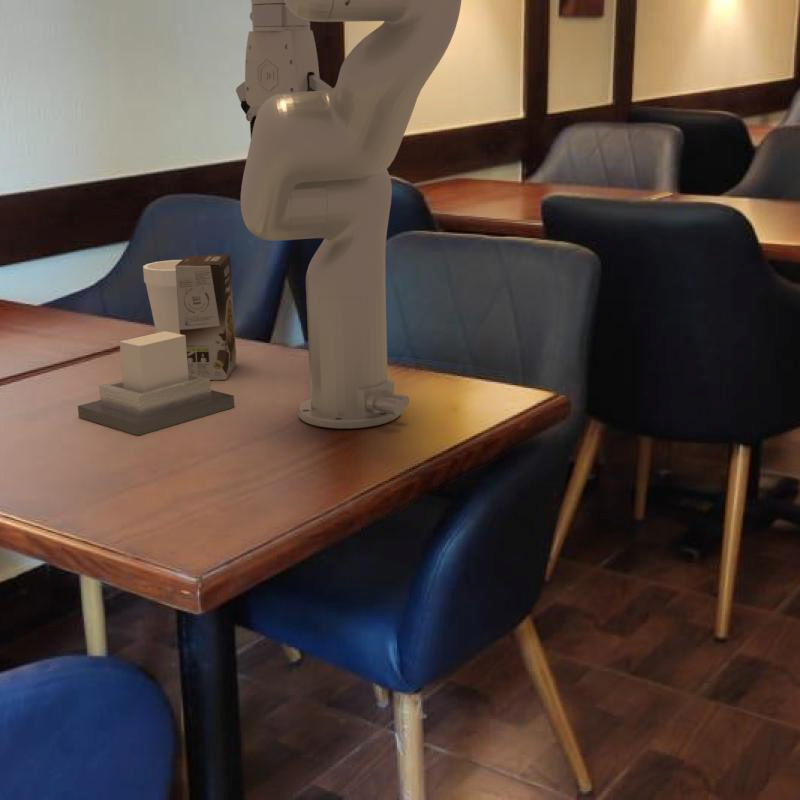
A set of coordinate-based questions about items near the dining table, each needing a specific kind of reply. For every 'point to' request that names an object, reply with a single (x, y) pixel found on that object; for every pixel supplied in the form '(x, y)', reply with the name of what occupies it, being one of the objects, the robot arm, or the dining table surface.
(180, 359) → the cream rectangular block
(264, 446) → the dining table surface
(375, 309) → the robot arm
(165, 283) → the foam cup
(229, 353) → the coffee box
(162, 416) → the duct collar
